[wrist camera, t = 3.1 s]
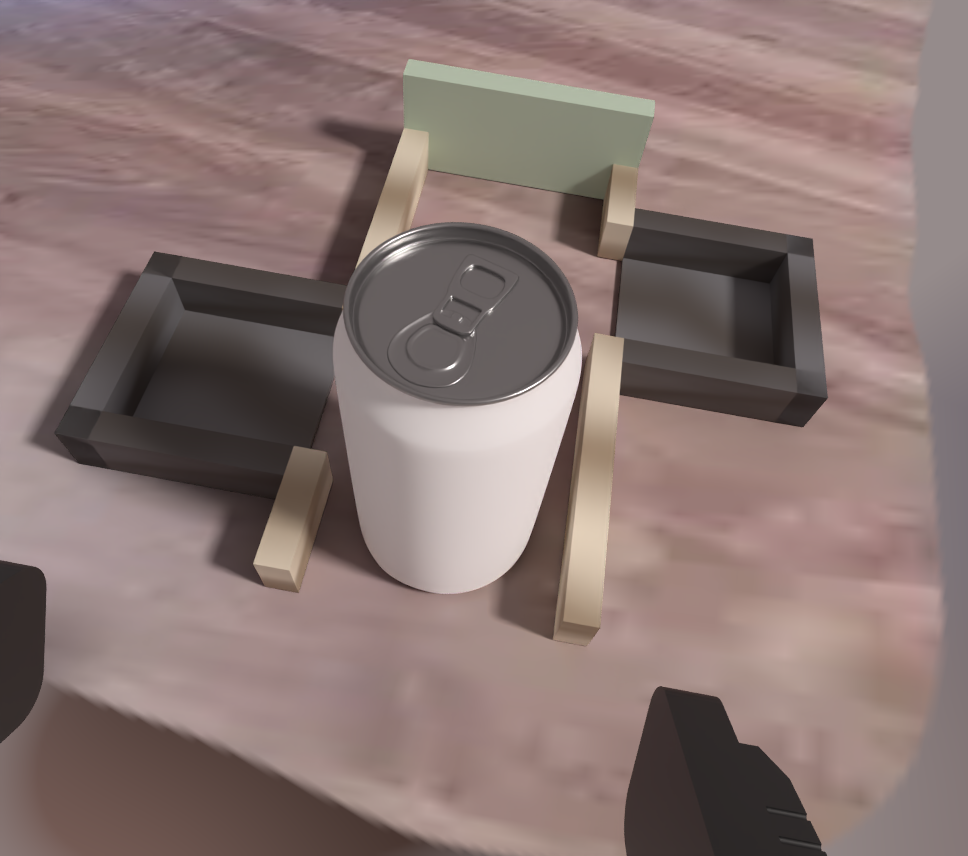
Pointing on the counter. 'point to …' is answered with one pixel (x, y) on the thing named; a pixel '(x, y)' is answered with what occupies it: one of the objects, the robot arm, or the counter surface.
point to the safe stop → (524, 128)
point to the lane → (310, 373)
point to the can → (454, 398)
